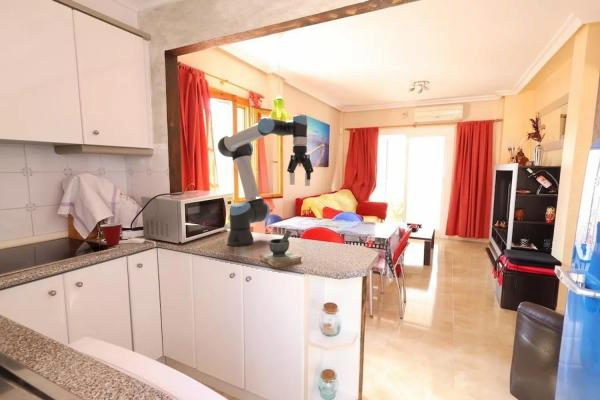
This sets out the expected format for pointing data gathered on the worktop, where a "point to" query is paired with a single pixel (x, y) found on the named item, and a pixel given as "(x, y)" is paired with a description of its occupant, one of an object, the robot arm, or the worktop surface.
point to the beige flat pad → (280, 259)
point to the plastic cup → (112, 233)
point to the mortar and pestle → (280, 245)
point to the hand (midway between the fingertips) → (299, 185)
